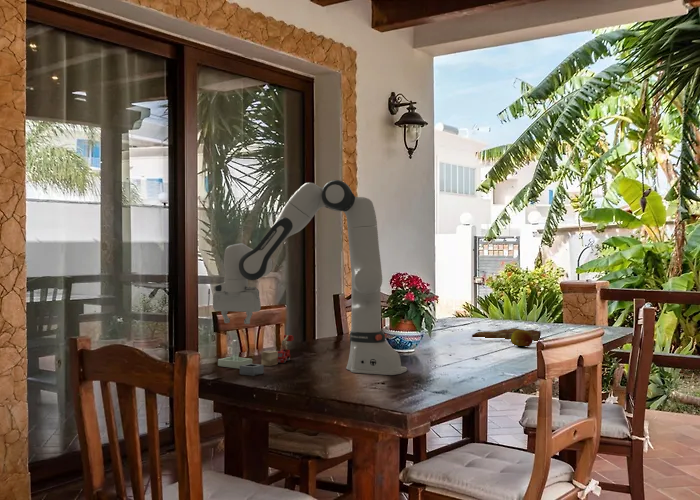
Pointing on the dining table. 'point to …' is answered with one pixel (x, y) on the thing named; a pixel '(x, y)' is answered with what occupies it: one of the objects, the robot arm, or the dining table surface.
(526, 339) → the fruit
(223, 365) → the tray
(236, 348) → the pin
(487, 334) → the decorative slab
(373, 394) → the dining table surface
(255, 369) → the socket block
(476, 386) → the dining table surface
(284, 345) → the toy fire truck
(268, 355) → the block
